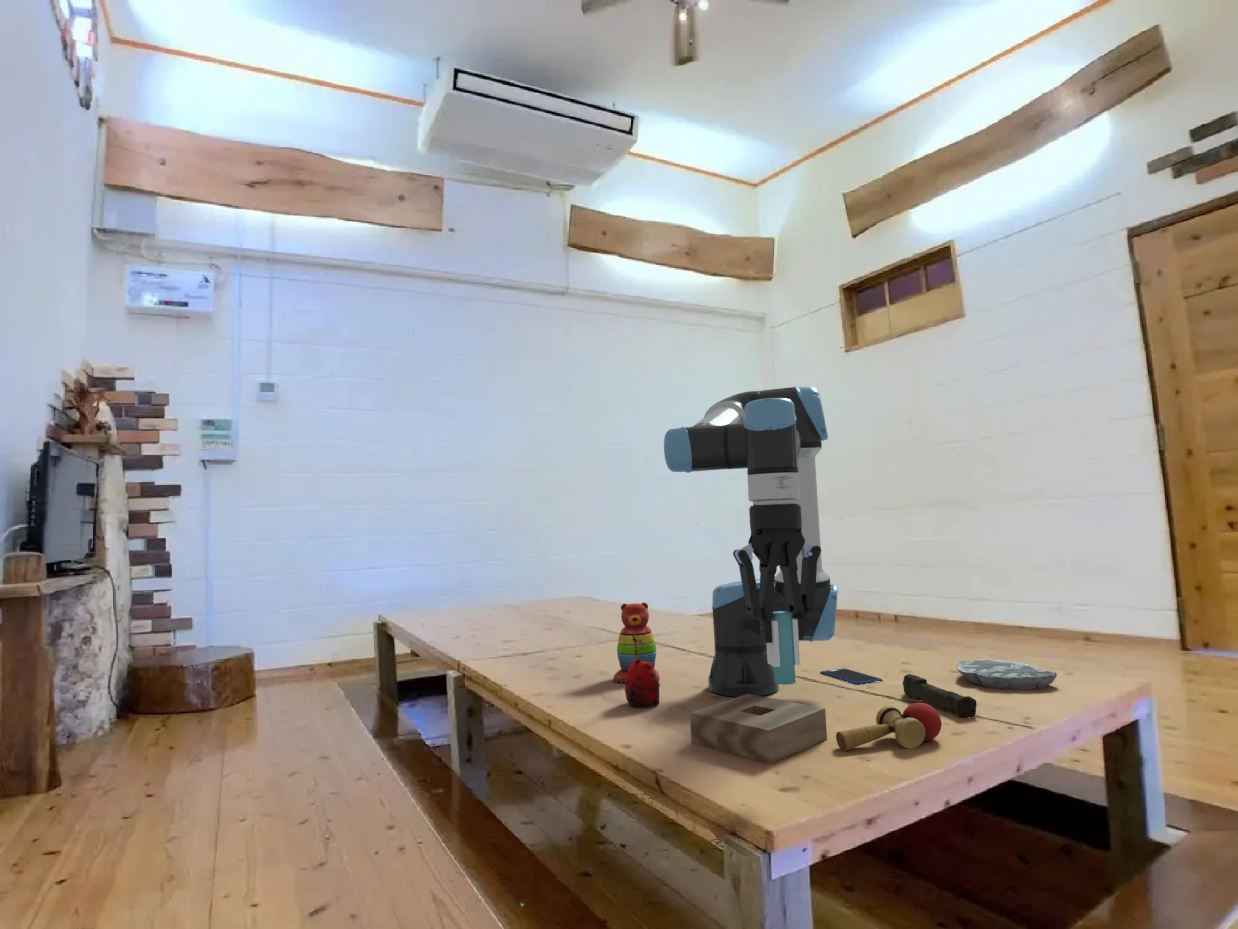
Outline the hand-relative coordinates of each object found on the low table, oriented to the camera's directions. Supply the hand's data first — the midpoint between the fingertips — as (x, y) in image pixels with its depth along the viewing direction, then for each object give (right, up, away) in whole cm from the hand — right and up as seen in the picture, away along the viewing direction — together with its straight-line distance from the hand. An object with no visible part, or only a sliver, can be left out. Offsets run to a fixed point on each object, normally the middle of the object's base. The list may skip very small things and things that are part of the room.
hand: (783, 663), depth 104 cm
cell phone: (+29, -20, +58) cm, 68 cm away
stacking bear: (-20, -22, +65) cm, 72 cm away
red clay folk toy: (-19, -20, +41) cm, 50 cm away
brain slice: (+58, -18, +49) cm, 78 cm away
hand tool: (+36, -18, +32) cm, 52 cm away
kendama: (+20, -17, +11) cm, 28 cm away
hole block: (-1, -17, +15) cm, 23 cm away
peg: (0, -3, 0) cm, 3 cm away
